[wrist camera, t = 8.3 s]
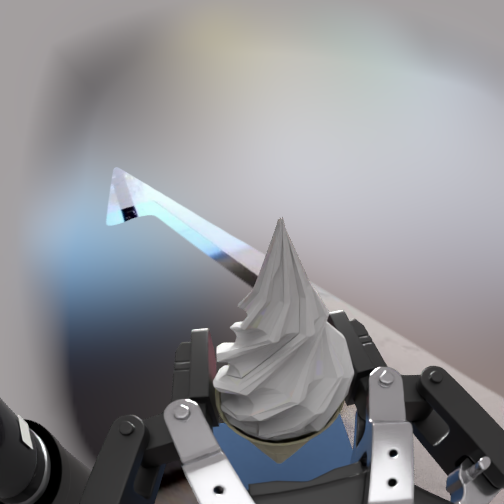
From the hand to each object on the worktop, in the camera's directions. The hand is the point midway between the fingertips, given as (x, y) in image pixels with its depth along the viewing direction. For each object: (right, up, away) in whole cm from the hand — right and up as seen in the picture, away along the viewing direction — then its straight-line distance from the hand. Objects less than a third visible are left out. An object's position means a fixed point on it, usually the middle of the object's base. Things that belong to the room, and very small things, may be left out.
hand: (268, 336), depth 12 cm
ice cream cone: (+1, -9, +2) cm, 9 cm away
